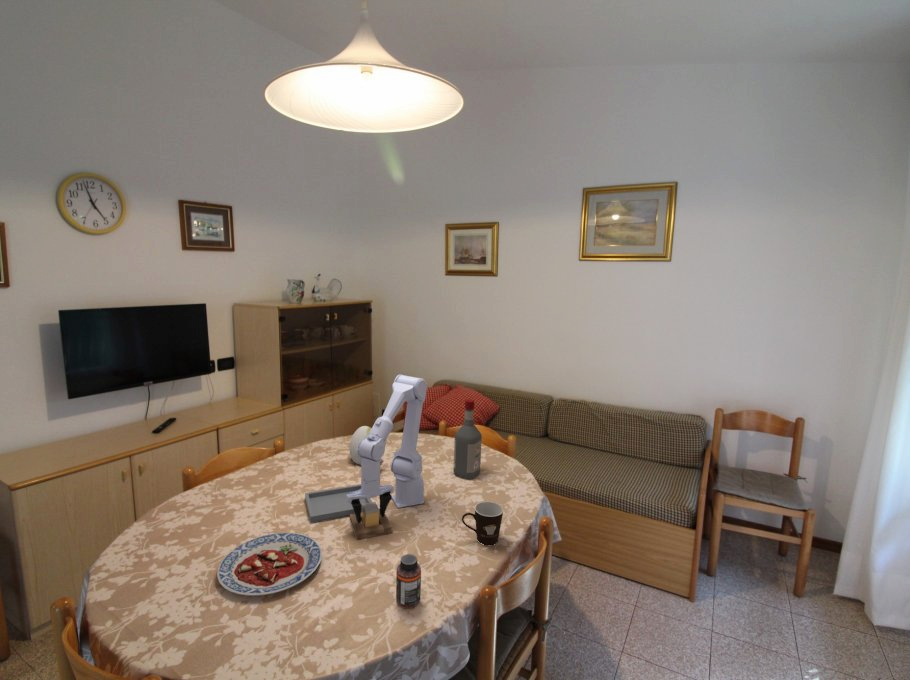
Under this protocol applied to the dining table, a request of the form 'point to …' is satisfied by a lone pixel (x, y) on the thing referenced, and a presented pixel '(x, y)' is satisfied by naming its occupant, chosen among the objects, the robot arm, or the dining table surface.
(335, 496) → the parts tray
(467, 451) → the liquor
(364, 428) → the decorative egg
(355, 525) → the socket
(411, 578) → the supplement bottle
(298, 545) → the ceramic plate
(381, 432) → the robot arm
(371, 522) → the block
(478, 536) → the coffee mug
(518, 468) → the dining table surface
